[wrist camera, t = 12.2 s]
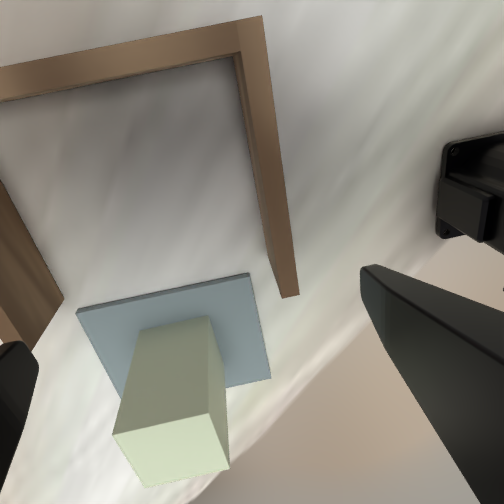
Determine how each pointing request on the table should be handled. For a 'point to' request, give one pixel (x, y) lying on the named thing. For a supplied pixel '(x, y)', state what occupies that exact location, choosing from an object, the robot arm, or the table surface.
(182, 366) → the block
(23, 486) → the table surface
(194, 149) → the table surface
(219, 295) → the mat
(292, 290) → the open frame
